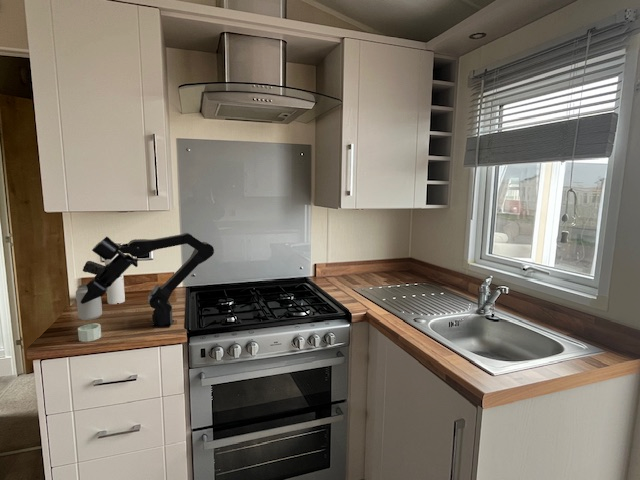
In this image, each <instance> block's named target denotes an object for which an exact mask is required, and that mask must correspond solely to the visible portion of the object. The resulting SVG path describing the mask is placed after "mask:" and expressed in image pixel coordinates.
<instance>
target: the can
mask: <svg viewBox="0 0 640 480" xmlns="http://www.w3.org/2000/svg"><path fill="white" fill-rule="evenodd" d="M87 284H88V283H85V284H84V283H83V284H81V285H78V286H77V289H76V291H75V299H76V300H75V301H76V309H77V318H79V319H80V320H82V321H90V320H95V319H99V317H101V316H102V314H103V308H102V307H103V305H102V297H98V298H95V299H93V300H91V301H88V302H86V303H84V304H82V303H81V300H82V299H83V297H84V296H85V294H86V293H87V291H88V289H87V286H86V285H87Z"/></svg>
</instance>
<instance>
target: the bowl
mask: <svg viewBox="0 0 640 480" xmlns="http://www.w3.org/2000/svg"><path fill="white" fill-rule="evenodd" d="M77 332H78V333H77V334H78V341H79V342H82V343H85V342H93V341H96V340H98V339H100V338H101V337H102V329H101V324H100V323H96V322H95V323H87V324H84V325H83V324H82V325H81V326H79V327H77Z"/></svg>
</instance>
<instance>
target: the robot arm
mask: <svg viewBox="0 0 640 480" xmlns="http://www.w3.org/2000/svg"><path fill="white" fill-rule="evenodd" d="M181 245H188V246H190V247H192V248H193V249H194V250H193V251H192V253H191V255H190V257H189V258H188V259H187V260H186V261H185V262H184V263H183V264H182V266H181V267H179V268H178V270H176V272H174V273H173V274H172V275H171V276H170V278H168V279H167V281H166V282H165V283H163V284H162V285H161V284H160V285H159V284H155V286H154V287H153V288H152V289H150V290H149V293H148V296H147V301H148V304H149V306H150V307H151V308H152V309H154V310H153V312H152V314H151V315H152V317H151V320H152V322H151V323H152V326H151V327H152V328H156V329H157V328H170V327H171V326H172V324H173V323H174V322H175V320H174V319H173V308H172V307H173V306H172V304H171V302H170V300H169V299H170V297H171V295H172V293H173V292H174V290H176V289H177V287H179V285H180V284H181V283H182V282H183V281H184V280H185V279H186V278H187V277H188V276H189V275H190V274H191V273H192V272H193V271H194V270H195V269H196V267H198V266H199V265H200V264H203V263H204V262H206V261H207V260H209V259H210V258H212V256H214V253H215V249H214V246H213V245H211V244H210V243H208V242H206V241H201V240H199V239H197V238H195V236H193V235H192V234H191V233H189V232H183V233H181V234H175V235H171V236H165V237H158V238H154V239H147V238H145V239H144V238H143V239H141V238H140V239H131V240H129V242H128V243H123V244H117V243H115V242H114V241H113V240H112V239H111V238H110V237H109V236H105V237H104V238H103V239H102V240H100V241H99V242H98V243H97V244H96V245H95V246H94V247H93V248H92V249H91V251H92V252H93V253H94V254H96V255H98V256H99V257H100V258H102V259H104V261H105V260H107V259H108V260H109V259H110V260H111V259H112V258H113V257H114V256H115V255H116V254H118V255H117V256H116V257H115V258H114V259H113V260H112V261H111V262H110V263H109V264H107V265H106V266H105V264H101V263H98V262H95V261H92V260H87V261H86V262H85V264H84V265H83V268H82V272H84V273H89V274H91V275H94V278H92V279H91V280H90V281H89V282H88V283H86V284H87V285H86V286H87V289H88V291H87V293H86V294H85V296H84V297H83V299H82V300H81V303H82V304H84V303H86V302H88V301H91V300H93V299H95V298H98V297H101V298H102V297H103V296H105V294H107V290H108V287H110V286H111V285H112V284H113V283H114V281H115V280H116V279H117V278H119V277H120V276H121V274H122V273H123V274H124V273H125V272H126V271H127V269H129V268H130V267H131V266H134V267H135V268H137V267H138V263H139V262H138V261H139V257H141V256H144V255H147V254H149V253H151V252H153V251H156V250H161V249H166V248H171V247H177V246H181ZM120 251H121V252H120ZM134 257H135V258H134ZM137 257H138V258H137Z"/></svg>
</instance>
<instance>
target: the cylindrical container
mask: <svg viewBox="0 0 640 480" xmlns="http://www.w3.org/2000/svg"><path fill="white" fill-rule="evenodd" d="M120 252H121V251H120ZM117 255H118V254H116V255H115V256H114V257H113V258H112V259H111V260H110V259H109V260H108V259H107V260H105V259H104V266H106V265H107V264H109V263H110V262H111V261H112V260H113V259H114V258H115V257H116V256H117ZM106 295H107V296H106V297H107V299H106V300H107V301H106V302H107V304H109V305H117V303H119V304H122V303H125V301H126V298H125V296H126V295H125V281H124V272H123V273H122V274H121V276H120V277H119V278H117V279H116V280H115V281H114V283H113V284H112V285H111V286H110V287H108V290H107V292H106Z"/></svg>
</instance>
